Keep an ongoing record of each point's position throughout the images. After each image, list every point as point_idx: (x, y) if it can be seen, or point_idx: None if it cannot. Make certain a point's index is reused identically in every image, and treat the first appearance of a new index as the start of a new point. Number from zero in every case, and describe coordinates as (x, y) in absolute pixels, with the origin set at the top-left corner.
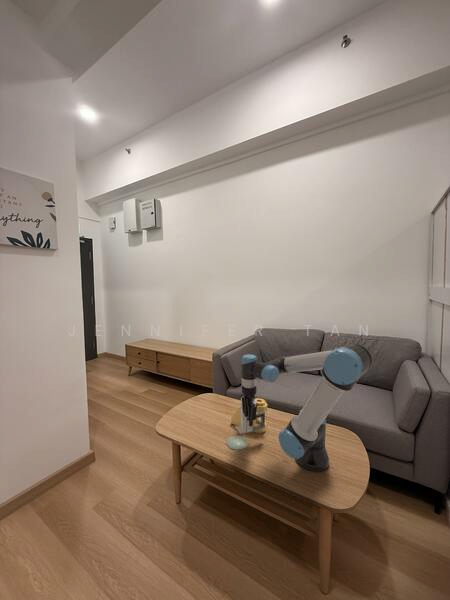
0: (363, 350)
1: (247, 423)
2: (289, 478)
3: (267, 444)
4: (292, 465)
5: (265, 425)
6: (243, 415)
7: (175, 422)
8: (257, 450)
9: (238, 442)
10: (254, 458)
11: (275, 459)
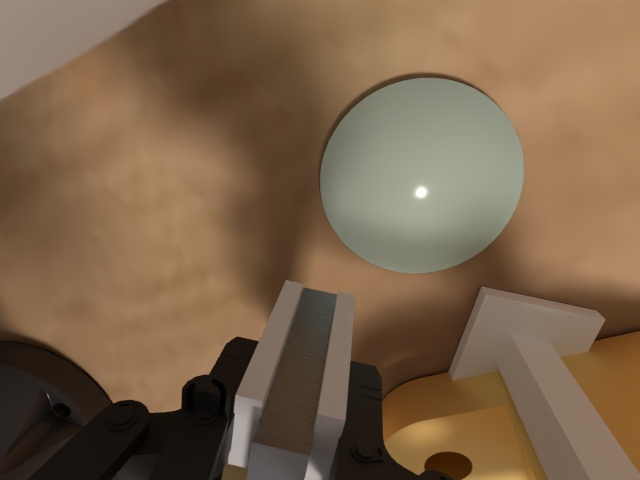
0: None
1: (277, 348)
2: None
3: None
4: (36, 313)
5: None
6: (567, 454)
7: None
8: (244, 250)
9: (403, 190)
10: (184, 172)
11: (114, 278)
